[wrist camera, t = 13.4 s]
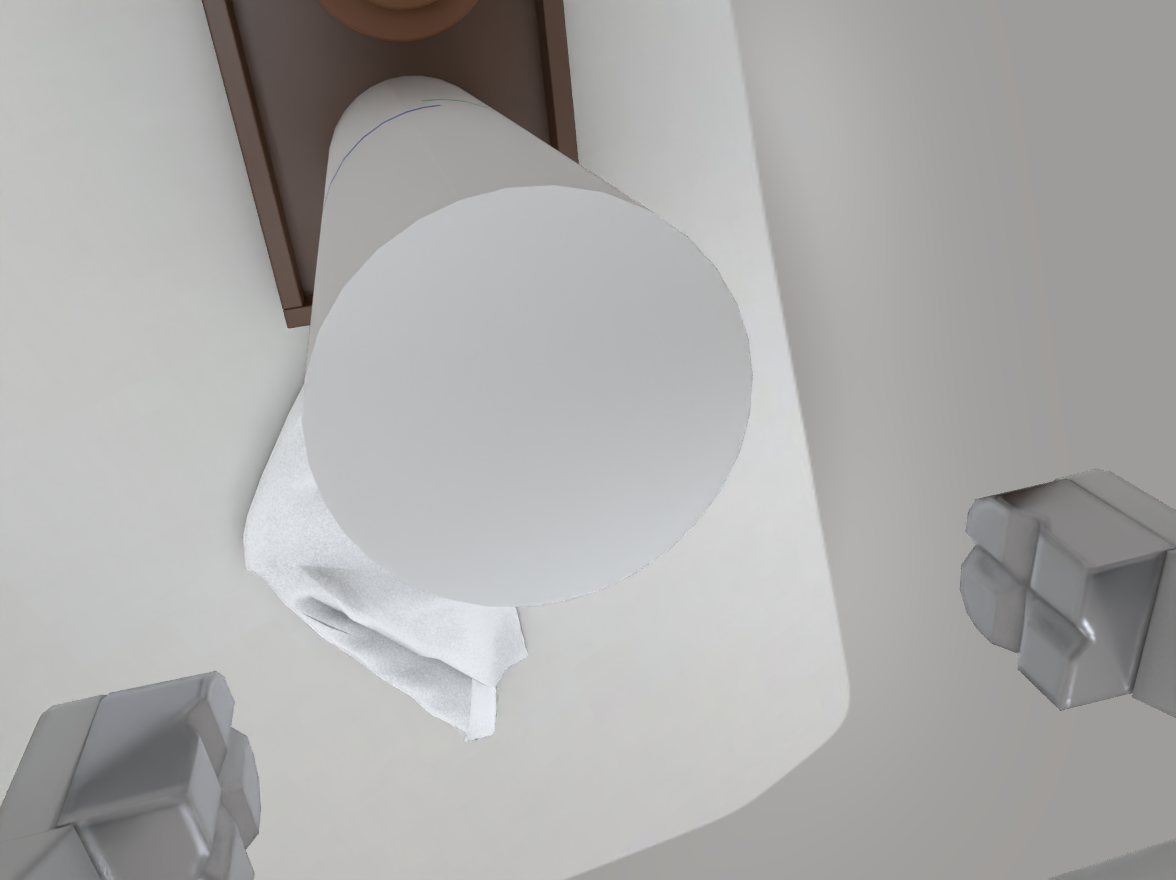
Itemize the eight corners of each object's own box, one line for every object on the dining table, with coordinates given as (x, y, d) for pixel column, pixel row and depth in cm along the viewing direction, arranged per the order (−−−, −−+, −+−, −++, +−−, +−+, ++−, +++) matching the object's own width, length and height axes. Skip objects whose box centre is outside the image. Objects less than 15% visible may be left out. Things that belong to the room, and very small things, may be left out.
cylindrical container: (297, 110, 34) (211, 289, 12) (473, 50, 34) (699, 114, 13) (371, 282, 37) (410, 666, 15) (530, 224, 38) (787, 515, 16)
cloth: (219, 265, 36) (213, 280, 34) (553, 271, 39) (565, 285, 37) (263, 759, 46) (259, 793, 44) (522, 728, 50) (530, 758, 48)
